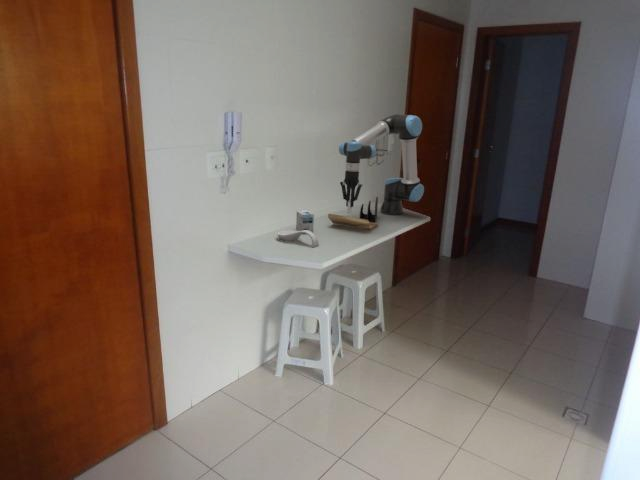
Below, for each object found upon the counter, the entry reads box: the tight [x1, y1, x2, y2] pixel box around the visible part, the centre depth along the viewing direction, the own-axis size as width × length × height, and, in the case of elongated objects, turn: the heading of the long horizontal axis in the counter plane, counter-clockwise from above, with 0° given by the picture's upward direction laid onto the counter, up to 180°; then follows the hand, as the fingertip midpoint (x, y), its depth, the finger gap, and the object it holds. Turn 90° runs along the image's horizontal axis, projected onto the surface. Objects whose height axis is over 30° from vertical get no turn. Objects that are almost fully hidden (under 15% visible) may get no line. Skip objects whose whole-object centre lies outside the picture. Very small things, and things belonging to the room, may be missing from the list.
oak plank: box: [327, 213, 373, 231], centre depth 266 cm, size 10×24×2 cm
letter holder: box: [359, 196, 379, 223], centre depth 289 cm, size 10×20×14 cm, turn 171°
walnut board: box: [337, 222, 379, 231], centre depth 275 cm, size 9×24×2 cm, turn 64°
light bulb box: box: [295, 209, 315, 235], centre depth 257 cm, size 11×7×11 cm, turn 22°
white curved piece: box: [276, 229, 320, 248], centre depth 237 cm, size 24×12×7 cm, turn 55°
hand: (349, 212), depth 263 cm, fingers closed
